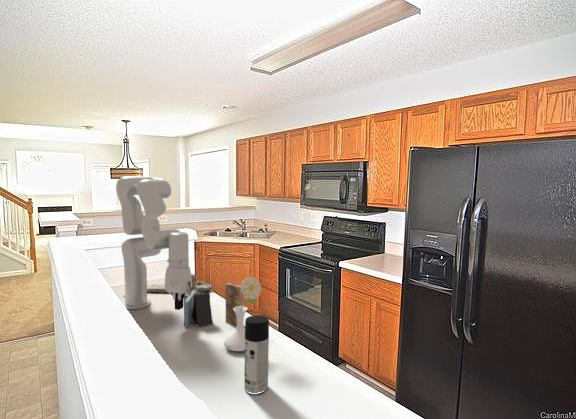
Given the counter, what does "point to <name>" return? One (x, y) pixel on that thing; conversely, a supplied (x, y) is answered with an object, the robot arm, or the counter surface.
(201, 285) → the long grey stone
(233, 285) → the brown wooden blocks
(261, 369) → the spray can
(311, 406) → the counter surface
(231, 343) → the flower in vase
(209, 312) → the phone stand
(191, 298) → the blue rectangular panel
